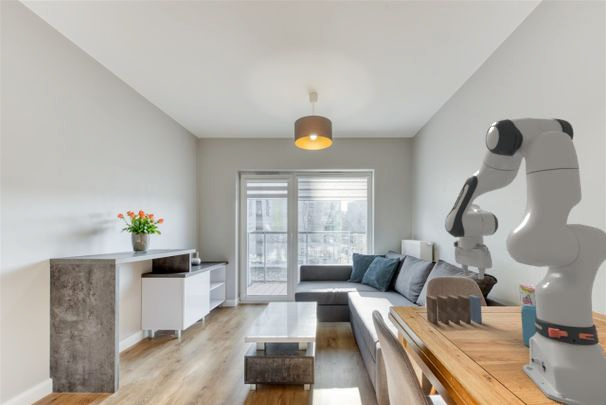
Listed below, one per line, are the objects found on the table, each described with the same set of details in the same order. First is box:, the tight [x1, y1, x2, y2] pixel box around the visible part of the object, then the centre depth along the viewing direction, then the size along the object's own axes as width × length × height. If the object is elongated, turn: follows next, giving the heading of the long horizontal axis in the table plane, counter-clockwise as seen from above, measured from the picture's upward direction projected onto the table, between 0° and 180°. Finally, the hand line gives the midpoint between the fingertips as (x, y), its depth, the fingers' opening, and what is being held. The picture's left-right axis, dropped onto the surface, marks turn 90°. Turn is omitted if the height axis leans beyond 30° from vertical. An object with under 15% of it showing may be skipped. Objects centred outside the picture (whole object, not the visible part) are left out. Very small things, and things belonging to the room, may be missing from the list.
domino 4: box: [457, 294, 472, 324], centre depth 123 cm, size 2×5×10 cm, turn 2°
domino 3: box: [446, 294, 461, 325], centre depth 123 cm, size 2×5×10 cm, turn 2°
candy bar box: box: [519, 284, 537, 311], centre depth 108 cm, size 11×5×16 cm, turn 168°
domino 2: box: [436, 295, 450, 325], centre depth 123 cm, size 2×5×10 cm, turn 2°
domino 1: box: [425, 295, 439, 325], centre depth 122 cm, size 2×5×10 cm, turn 2°
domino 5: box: [467, 294, 483, 324], centre depth 123 cm, size 2×5×10 cm, turn 2°
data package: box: [520, 306, 537, 348], centre depth 96 cm, size 12×4×12 cm, turn 52°
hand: (473, 277), depth 124 cm, fingers open, 8 cm apart
